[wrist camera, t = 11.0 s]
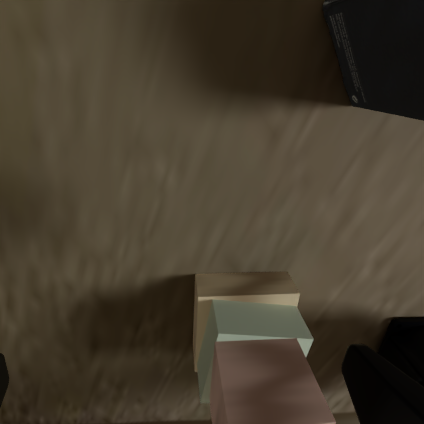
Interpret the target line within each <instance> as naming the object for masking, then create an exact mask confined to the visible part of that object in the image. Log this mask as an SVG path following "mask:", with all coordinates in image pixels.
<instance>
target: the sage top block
mask: <svg viewBox="0 0 424 424" xmlns="http://www.w3.org/2000/svg"><path fill="white" fill-rule="evenodd" d="M288 338H297V340H298V342H299V344H300V346H301V349H302V351H303V353H304V355H305V357H307V354H308V352H309V349H310V347H311V345H312V342H313V340H314V339H313V337H312V335H311V333H310V331H309V329H308V327H307V325H306V324H305V322H304V320H303V318H302V316H301V314H300V312H299V310H298V308H297V306H291V305H279V304H266V303H253V302H240V301H228V300H215V299H212V304H211V308H210V312H209V316H208V320H207V324H206V328H205V333H204V337H203V341H202V345H201V349H200V353H199V357H198V362H197V371H198V383H199V395H200V403H210V388H211V378H212V367H213V356H214V345H215V342H218V341H241V340H264V339H288Z"/></svg>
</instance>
